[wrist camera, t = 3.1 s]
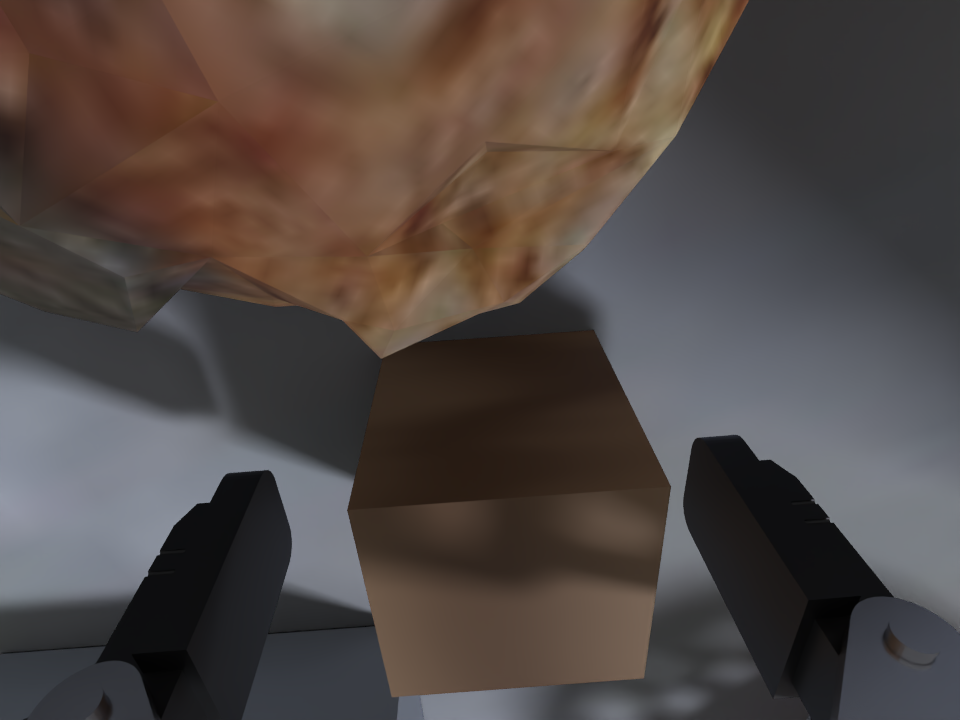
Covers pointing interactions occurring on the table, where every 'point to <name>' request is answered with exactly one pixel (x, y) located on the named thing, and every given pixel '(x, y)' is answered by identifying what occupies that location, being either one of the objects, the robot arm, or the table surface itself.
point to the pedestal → (277, 683)
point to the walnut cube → (507, 516)
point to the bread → (329, 148)
